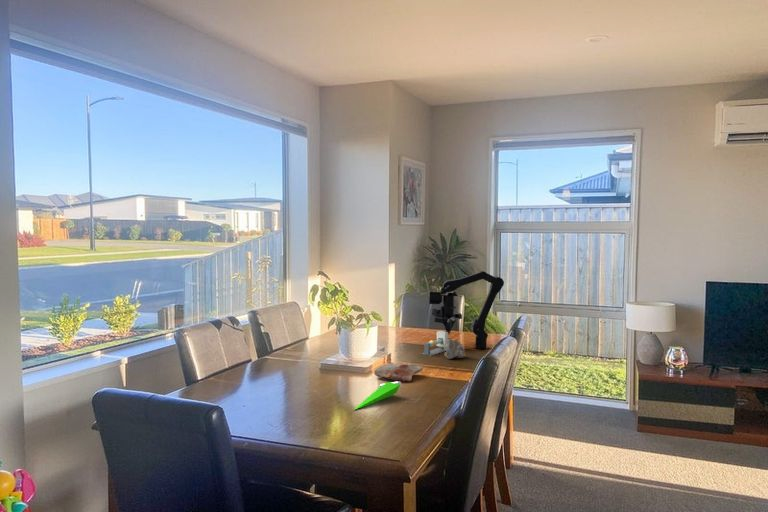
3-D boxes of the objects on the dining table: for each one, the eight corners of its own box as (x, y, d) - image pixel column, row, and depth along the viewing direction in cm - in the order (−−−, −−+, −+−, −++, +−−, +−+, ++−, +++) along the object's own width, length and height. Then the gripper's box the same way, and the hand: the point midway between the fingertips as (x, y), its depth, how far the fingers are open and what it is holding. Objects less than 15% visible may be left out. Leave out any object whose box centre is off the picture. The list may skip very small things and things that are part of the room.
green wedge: (365, 421, 194) (405, 392, 213) (360, 406, 194) (400, 378, 213) (342, 423, 201) (383, 395, 220) (337, 409, 201) (378, 382, 220)
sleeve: (439, 344, 295) (439, 330, 294) (447, 346, 292) (448, 332, 291) (436, 345, 292) (436, 331, 292) (444, 347, 289) (445, 332, 289)
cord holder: (441, 347, 297) (441, 335, 297) (451, 349, 294) (451, 336, 293) (421, 354, 282) (421, 341, 282) (431, 356, 279) (431, 342, 278)
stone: (418, 390, 232) (421, 377, 246) (420, 375, 231) (423, 363, 245) (371, 381, 234) (377, 368, 249) (373, 366, 233) (379, 355, 248)
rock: (465, 364, 275) (465, 346, 281) (461, 353, 266) (461, 334, 272) (447, 365, 277) (447, 347, 283) (442, 354, 268) (442, 335, 274)
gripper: (444, 301, 308) (444, 329, 309) (425, 305, 293) (425, 334, 294) (462, 303, 301) (462, 332, 302) (444, 307, 286) (443, 337, 287)
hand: (448, 334), depth 296 cm, fingers closed
